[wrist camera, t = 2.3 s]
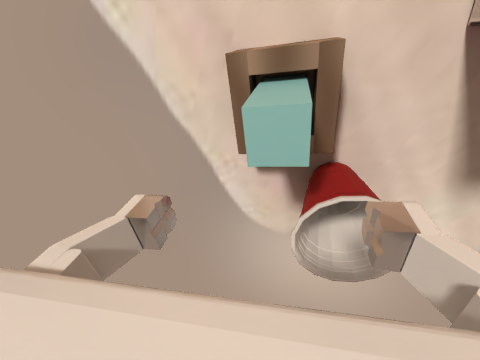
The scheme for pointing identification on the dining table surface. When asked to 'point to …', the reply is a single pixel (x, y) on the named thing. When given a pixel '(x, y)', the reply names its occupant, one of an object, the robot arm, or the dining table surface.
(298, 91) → the teal peg
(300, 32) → the dining table surface
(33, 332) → the robot arm
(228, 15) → the dining table surface
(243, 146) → the pocket block
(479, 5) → the candy bar box
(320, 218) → the plastic cup
